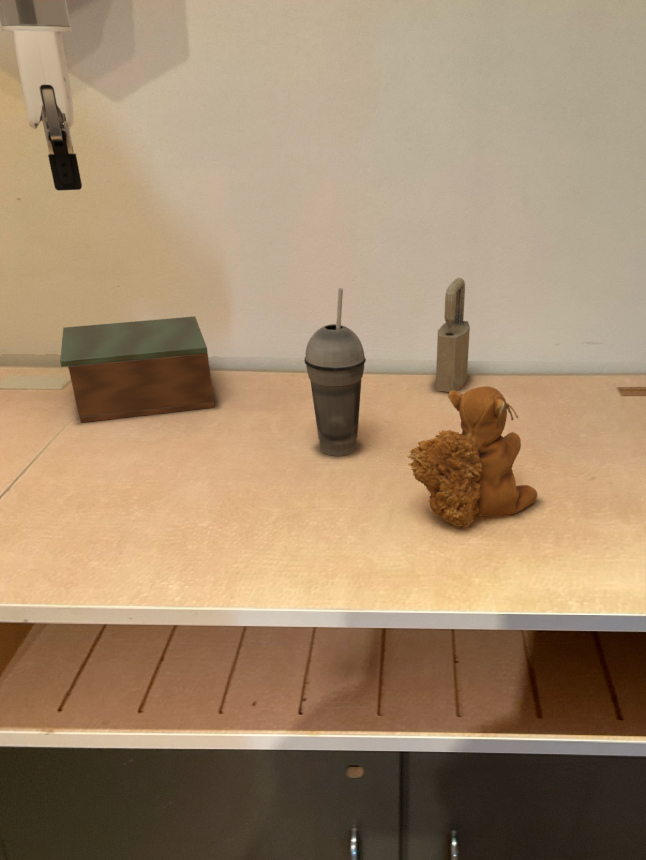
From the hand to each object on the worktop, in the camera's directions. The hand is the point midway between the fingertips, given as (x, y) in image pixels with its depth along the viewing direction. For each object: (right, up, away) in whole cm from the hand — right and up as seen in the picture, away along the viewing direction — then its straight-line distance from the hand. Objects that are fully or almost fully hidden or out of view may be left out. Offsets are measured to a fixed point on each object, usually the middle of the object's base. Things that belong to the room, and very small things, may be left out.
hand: (68, 188), depth 101 cm
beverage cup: (+35, -33, -1) cm, 48 cm away
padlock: (+50, -21, +18) cm, 57 cm away
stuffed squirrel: (+50, -42, -14) cm, 66 cm away
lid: (+5, -18, +8) cm, 20 cm away
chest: (+6, -24, +13) cm, 28 cm away
